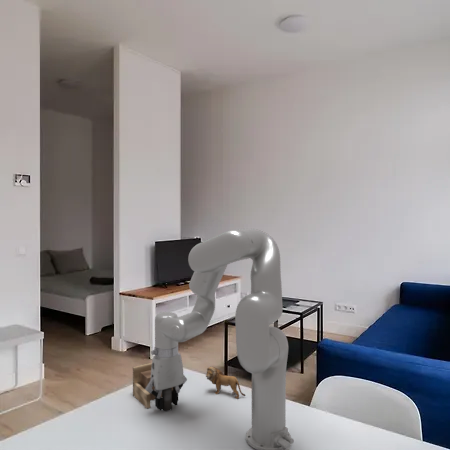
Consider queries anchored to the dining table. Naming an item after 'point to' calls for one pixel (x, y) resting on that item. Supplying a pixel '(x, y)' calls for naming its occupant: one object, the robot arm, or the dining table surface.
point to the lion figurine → (223, 381)
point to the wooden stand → (137, 388)
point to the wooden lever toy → (165, 394)
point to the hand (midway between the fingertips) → (166, 405)
